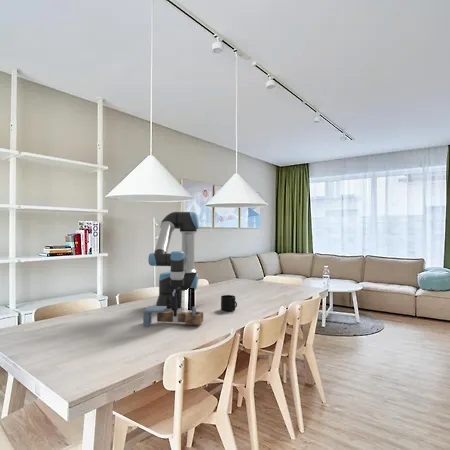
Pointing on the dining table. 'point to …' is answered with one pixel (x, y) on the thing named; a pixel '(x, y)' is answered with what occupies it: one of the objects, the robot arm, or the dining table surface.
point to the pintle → (193, 310)
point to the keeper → (148, 314)
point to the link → (181, 317)
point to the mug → (228, 303)
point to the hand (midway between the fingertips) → (176, 320)
